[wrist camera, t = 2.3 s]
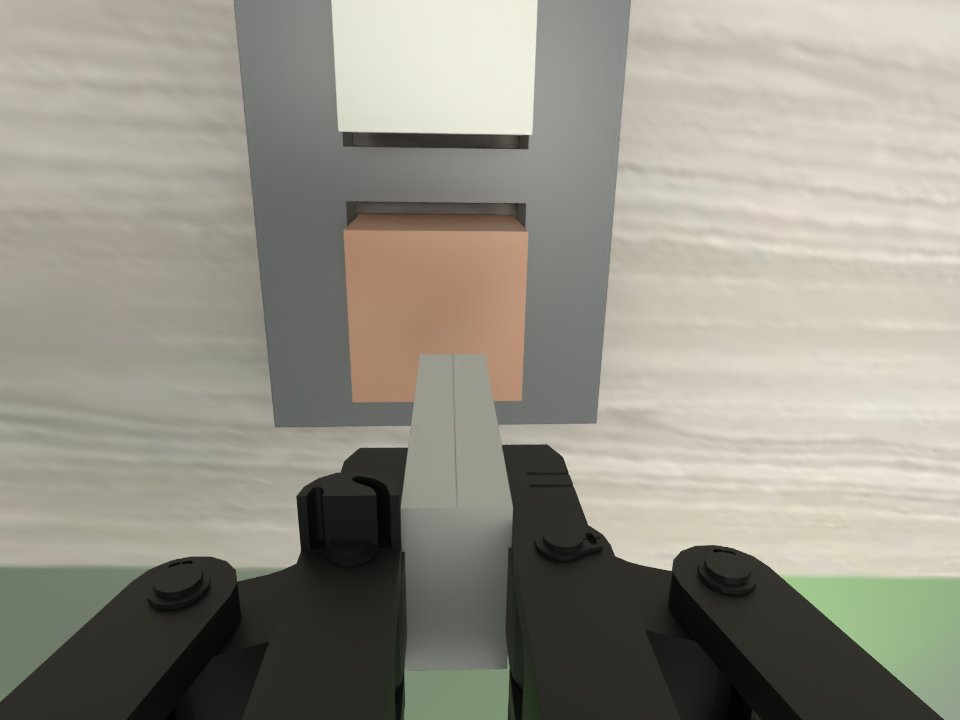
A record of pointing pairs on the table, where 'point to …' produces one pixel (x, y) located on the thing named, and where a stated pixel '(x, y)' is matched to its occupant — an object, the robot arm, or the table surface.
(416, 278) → the key terracotta
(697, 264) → the table surface
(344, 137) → the key panel
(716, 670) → the robot arm
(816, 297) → the table surface
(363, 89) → the key white
